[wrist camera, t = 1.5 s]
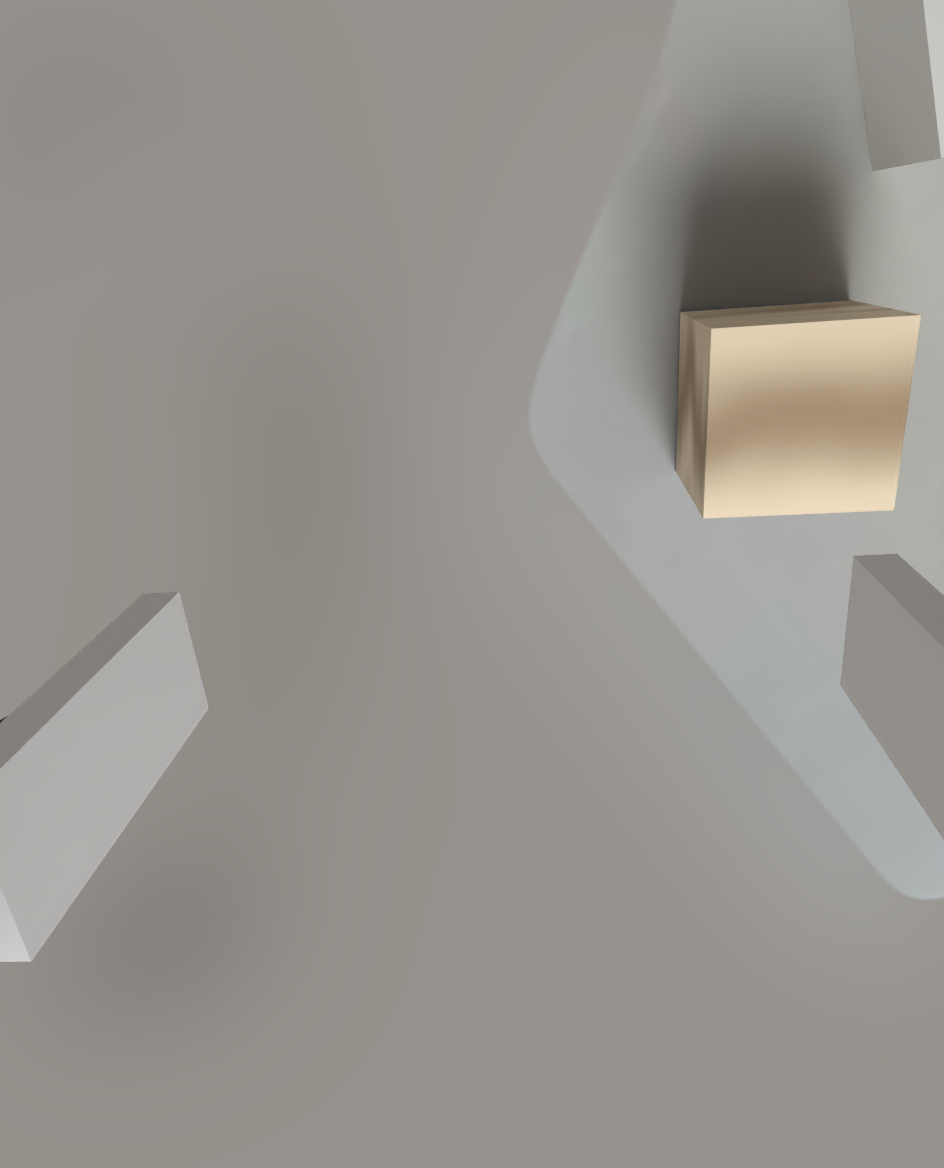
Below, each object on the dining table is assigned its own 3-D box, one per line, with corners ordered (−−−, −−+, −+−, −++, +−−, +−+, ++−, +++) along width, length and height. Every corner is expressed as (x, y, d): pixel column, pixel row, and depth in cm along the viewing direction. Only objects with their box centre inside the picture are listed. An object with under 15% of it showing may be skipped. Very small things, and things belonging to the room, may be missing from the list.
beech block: (679, 311, 35) (711, 328, 28) (848, 300, 34) (921, 314, 28) (674, 470, 37) (703, 518, 31) (831, 462, 37) (893, 510, 30)
